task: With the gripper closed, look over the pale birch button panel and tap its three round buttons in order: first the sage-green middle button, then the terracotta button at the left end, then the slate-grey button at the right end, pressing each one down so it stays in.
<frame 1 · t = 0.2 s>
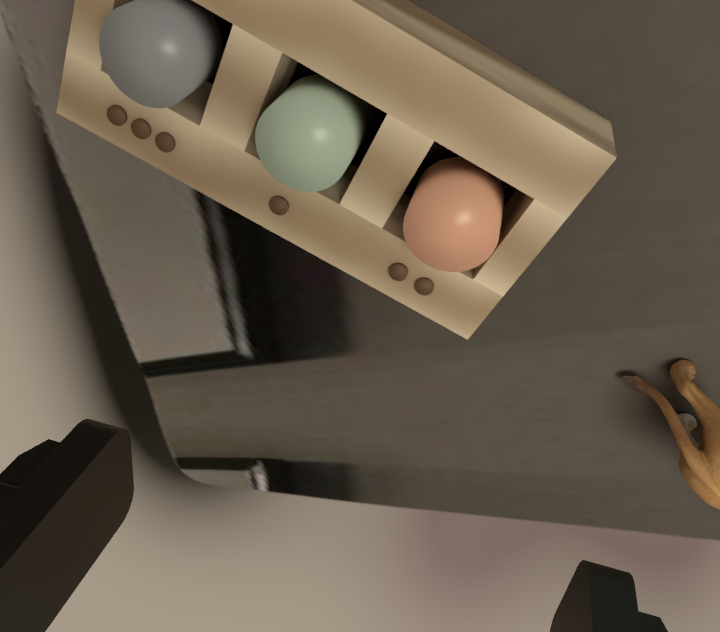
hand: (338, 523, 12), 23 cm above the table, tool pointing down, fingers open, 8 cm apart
button panel: (337, 102, 31), on the table
terracotta button: (454, 214, 29), point 4 cm above the table, slide at 0.0 cm
slate button: (163, 48, 28), point 4 cm above the table, slide at 0.0 cm
sage button: (312, 133, 28), point 4 cm above the table, slide at 0.0 cm
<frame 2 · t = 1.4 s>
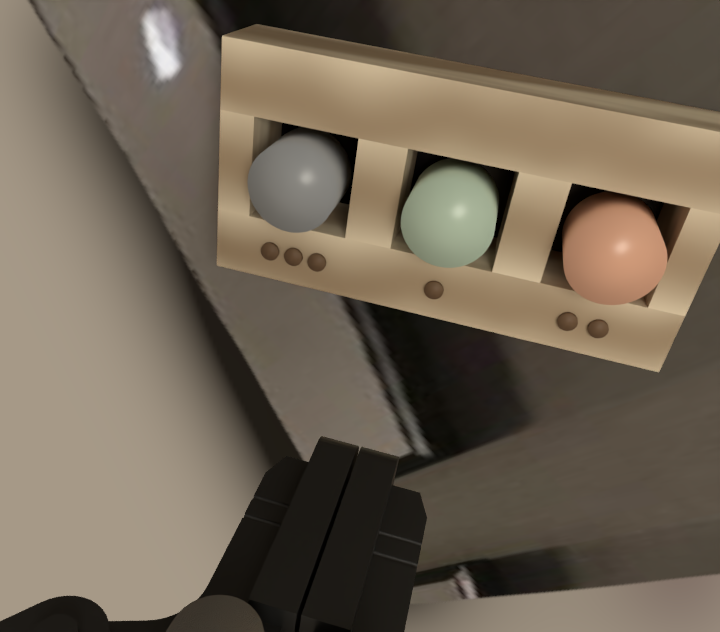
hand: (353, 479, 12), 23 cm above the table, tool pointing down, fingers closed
button panel: (460, 183, 33), on the table
terracotta button: (611, 247, 29), point 4 cm above the table, slide at 0.0 cm
slate button: (301, 179, 30), point 4 cm above the table, slide at 0.0 cm
sage button: (451, 212, 29), point 4 cm above the table, slide at 0.0 cm
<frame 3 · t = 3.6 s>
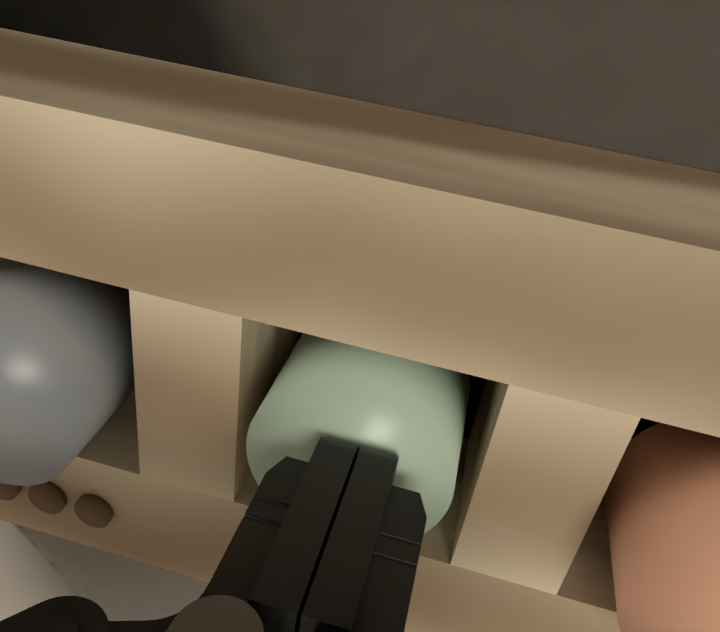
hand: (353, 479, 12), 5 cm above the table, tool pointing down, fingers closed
button panel: (393, 340, 16), on the table
slate button: (28, 361, 14), point 4 cm above the table, slide at 0.0 cm
sage button: (365, 419, 14), point 3 cm above the table, slide at 1.0 cm, touching gripper
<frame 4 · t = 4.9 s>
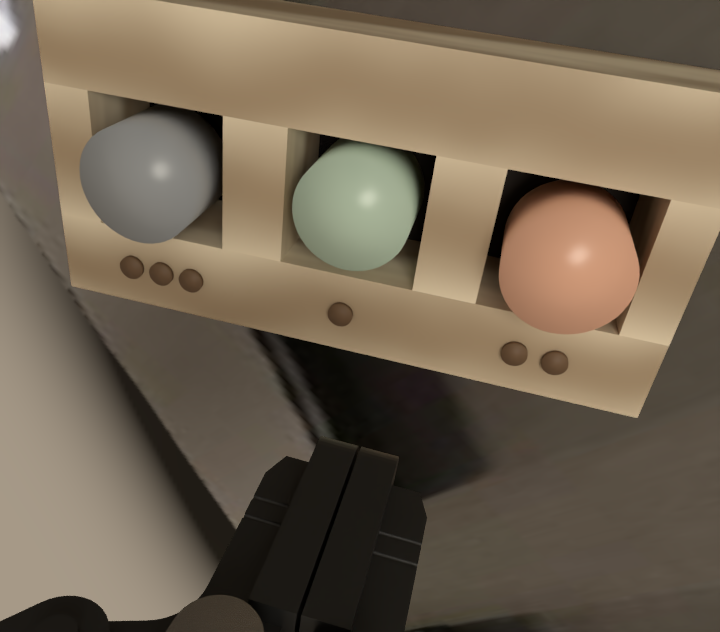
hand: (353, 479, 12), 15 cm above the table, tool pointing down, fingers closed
button panel: (378, 174, 25), on the table
terracotta button: (565, 255, 21), point 4 cm above the table, slide at 0.0 cm
slate button: (157, 172, 23), point 4 cm above the table, slide at 0.0 cm
sage button: (360, 200, 23), point 3 cm above the table, slide at 1.2 cm
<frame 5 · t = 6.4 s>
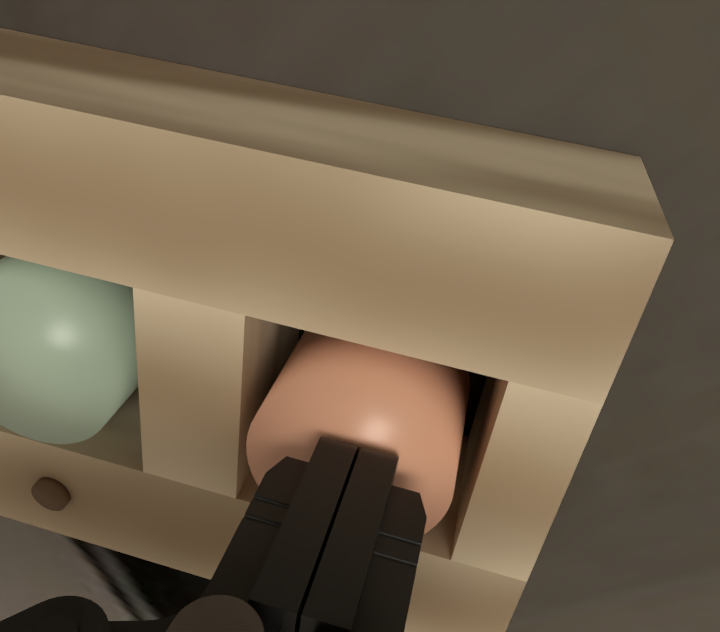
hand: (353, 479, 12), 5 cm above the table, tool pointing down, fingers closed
button panel: (131, 274, 17), on the table
terracotta button: (365, 420, 14), point 3 cm above the table, slide at 0.8 cm, touching gripper
sage button: (66, 330, 15), point 3 cm above the table, slide at 1.2 cm
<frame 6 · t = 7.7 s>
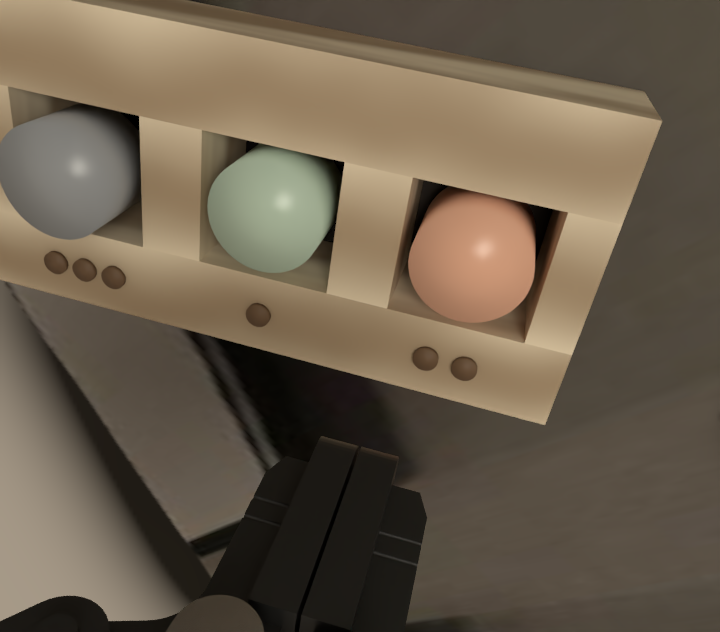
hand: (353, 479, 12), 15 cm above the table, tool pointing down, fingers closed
button panel: (303, 178, 26), on the table
terracotta button: (474, 249, 22), point 3 cm above the table, slide at 1.2 cm
slate button: (78, 170, 23), point 4 cm above the table, slide at 0.0 cm
sage button: (278, 203, 23), point 3 cm above the table, slide at 1.2 cm
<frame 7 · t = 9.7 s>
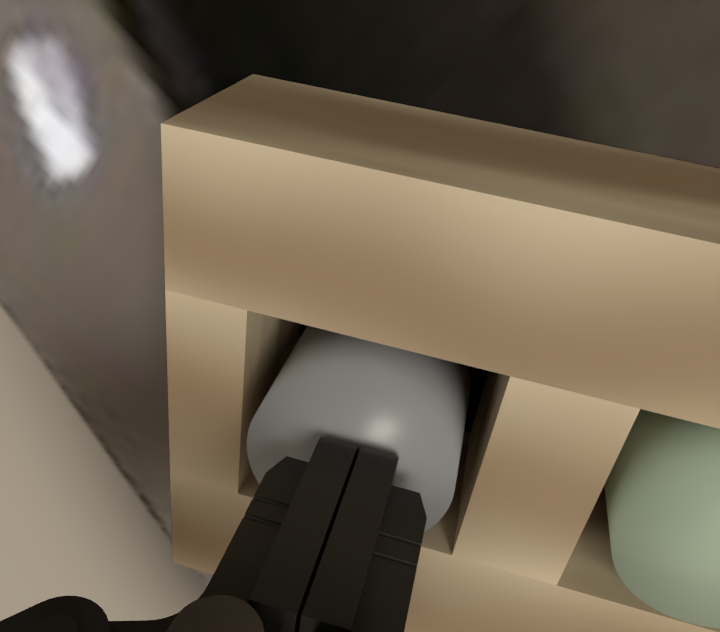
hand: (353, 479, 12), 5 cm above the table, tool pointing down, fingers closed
button panel: (687, 407, 15), on the table
slate button: (365, 418, 14), point 3 cm above the table, slide at 0.8 cm, touching gripper
sage button: (713, 495, 13), point 3 cm above the table, slide at 1.2 cm
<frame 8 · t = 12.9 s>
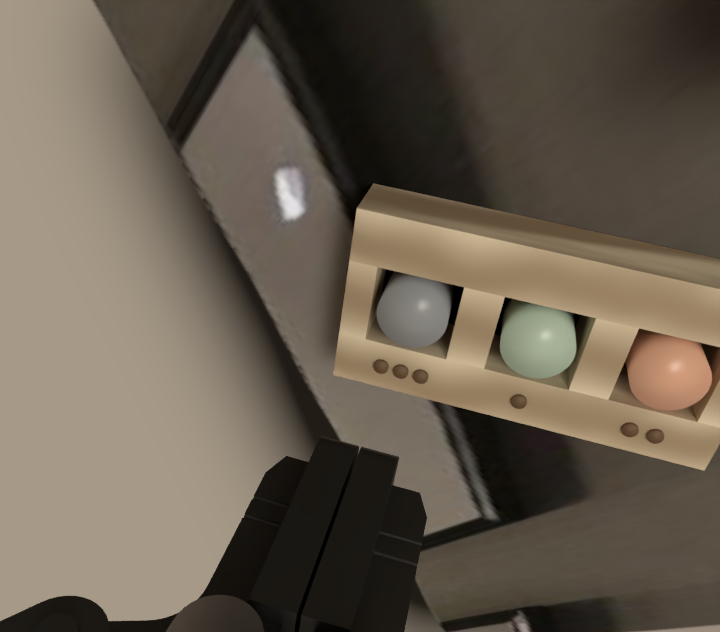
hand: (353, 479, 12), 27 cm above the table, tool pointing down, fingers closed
button panel: (538, 309, 40), on the table
terracotta button: (665, 364, 36), point 3 cm above the table, slide at 1.2 cm
slate button: (416, 304, 38), point 3 cm above the table, slide at 1.2 cm
sage button: (537, 333, 37), point 3 cm above the table, slide at 1.2 cm
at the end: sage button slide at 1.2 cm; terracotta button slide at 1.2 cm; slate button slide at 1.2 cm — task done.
